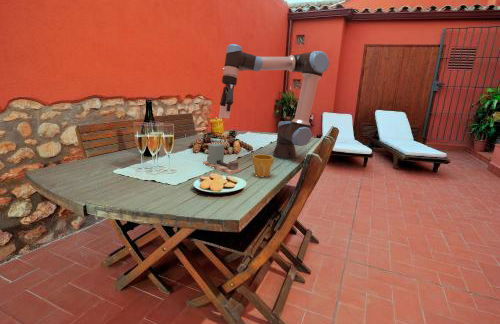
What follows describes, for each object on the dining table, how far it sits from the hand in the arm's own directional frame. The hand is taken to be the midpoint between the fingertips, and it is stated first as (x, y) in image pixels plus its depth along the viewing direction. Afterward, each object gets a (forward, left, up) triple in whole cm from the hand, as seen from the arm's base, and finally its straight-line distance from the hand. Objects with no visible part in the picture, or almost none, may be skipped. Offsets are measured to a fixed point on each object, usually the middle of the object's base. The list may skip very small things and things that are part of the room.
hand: (223, 118), depth 147 cm
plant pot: (-24, +4, -26) cm, 36 cm away
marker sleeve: (+4, 0, -24) cm, 25 cm away
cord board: (-1, +2, -26) cm, 26 cm away
